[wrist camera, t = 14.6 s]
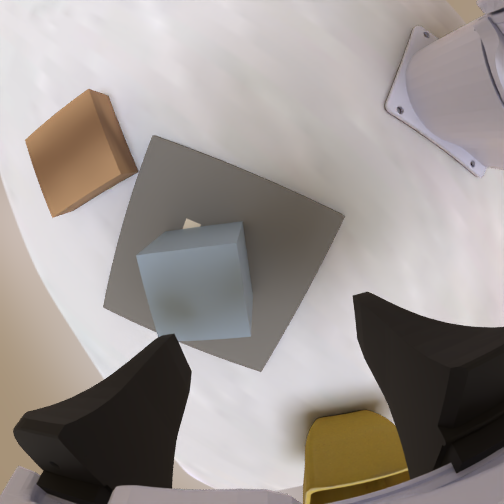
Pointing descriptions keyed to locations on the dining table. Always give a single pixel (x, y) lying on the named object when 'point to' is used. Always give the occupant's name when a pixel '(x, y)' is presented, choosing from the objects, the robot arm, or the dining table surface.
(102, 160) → the walnut block
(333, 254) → the dining table surface
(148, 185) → the letter mat
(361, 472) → the flower pot
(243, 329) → the blue cube
